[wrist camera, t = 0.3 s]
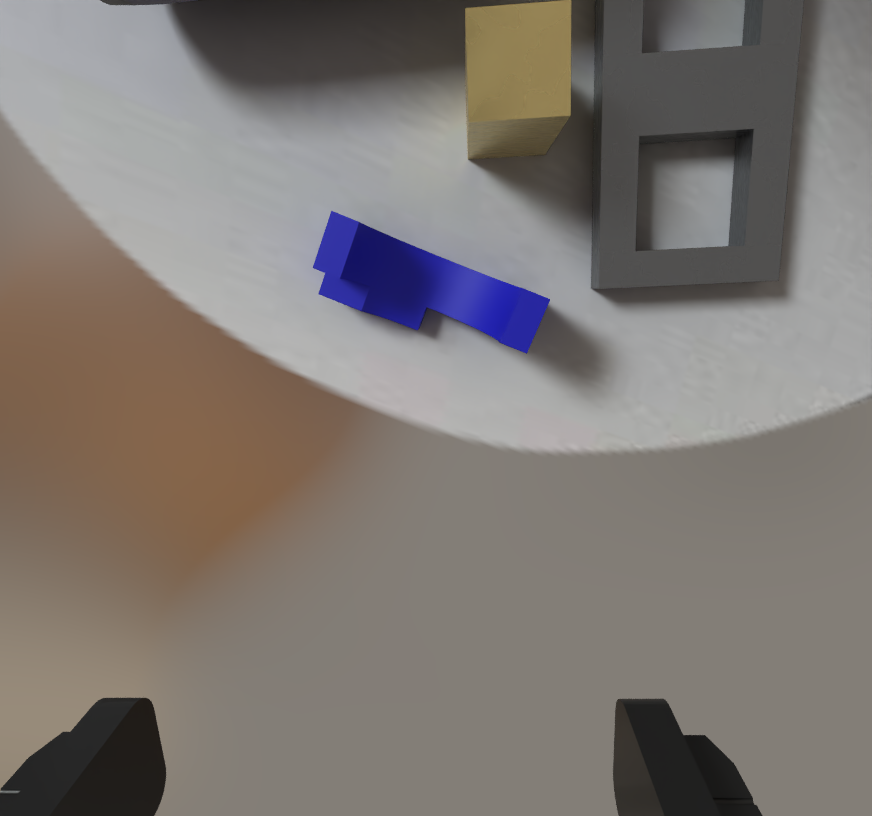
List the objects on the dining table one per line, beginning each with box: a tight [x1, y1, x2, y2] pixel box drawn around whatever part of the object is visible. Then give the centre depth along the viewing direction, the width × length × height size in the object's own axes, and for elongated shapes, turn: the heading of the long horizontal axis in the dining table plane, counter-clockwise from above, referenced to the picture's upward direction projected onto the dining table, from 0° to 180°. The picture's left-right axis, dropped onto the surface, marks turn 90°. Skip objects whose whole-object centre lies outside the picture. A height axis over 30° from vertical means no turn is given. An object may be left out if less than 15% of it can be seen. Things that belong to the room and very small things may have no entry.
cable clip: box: [313, 211, 550, 353], centre depth 32 cm, size 12×4×6 cm, turn 69°
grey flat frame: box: [591, 0, 804, 289], centre depth 30 cm, size 20×10×2 cm, turn 3°
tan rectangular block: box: [465, 0, 571, 159], centre depth 28 cm, size 4×4×8 cm
